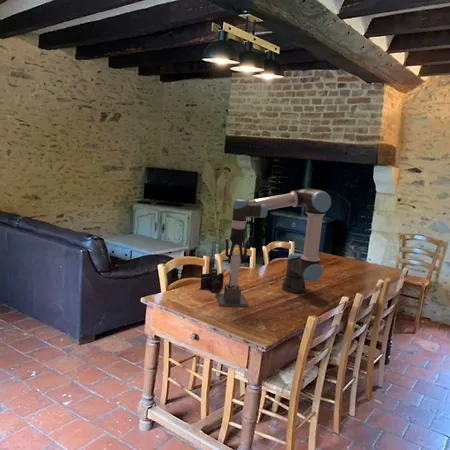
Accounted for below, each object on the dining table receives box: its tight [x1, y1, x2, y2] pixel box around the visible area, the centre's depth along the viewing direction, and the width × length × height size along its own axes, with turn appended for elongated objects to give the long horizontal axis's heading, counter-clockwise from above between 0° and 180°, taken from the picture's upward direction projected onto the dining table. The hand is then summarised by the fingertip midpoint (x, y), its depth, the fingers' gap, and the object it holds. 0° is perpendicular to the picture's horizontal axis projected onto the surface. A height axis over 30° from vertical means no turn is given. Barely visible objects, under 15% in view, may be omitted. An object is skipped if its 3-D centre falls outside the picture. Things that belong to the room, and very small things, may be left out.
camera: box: [200, 271, 225, 293], centre depth 251 cm, size 14×11×10 cm
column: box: [228, 251, 241, 289], centre depth 232 cm, size 4×6×21 cm, turn 9°
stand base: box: [215, 283, 250, 308], centre depth 234 cm, size 16×16×10 cm
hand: (234, 269), depth 232 cm, fingers closed on column, 4 cm apart
